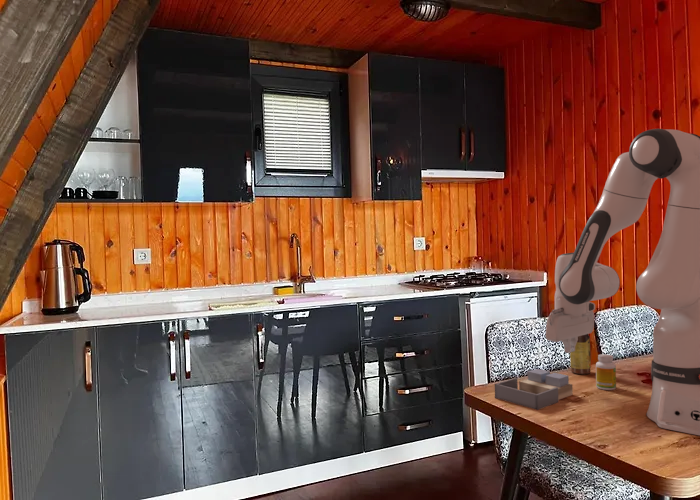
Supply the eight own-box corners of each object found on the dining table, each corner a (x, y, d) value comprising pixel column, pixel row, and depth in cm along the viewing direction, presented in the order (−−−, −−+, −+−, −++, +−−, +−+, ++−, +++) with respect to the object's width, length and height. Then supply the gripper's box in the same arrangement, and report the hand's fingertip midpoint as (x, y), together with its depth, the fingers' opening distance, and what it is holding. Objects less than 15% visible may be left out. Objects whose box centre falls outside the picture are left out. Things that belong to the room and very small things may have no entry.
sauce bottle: (594, 374, 174) (593, 314, 173) (574, 375, 174) (573, 314, 174) (585, 369, 181) (584, 311, 180) (567, 370, 181) (566, 311, 180)
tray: (558, 401, 149) (558, 387, 149) (537, 409, 143) (537, 395, 143) (515, 390, 160) (515, 377, 160) (494, 397, 154) (494, 384, 154)
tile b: (550, 379, 160) (549, 371, 160) (541, 382, 157) (541, 374, 157) (536, 376, 164) (536, 368, 163) (527, 379, 161) (527, 371, 161)
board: (572, 394, 155) (572, 384, 155) (555, 400, 150) (555, 390, 150) (536, 385, 165) (536, 375, 165) (519, 391, 160) (519, 381, 160)
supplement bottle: (617, 391, 157) (616, 358, 157) (597, 389, 159) (596, 357, 158) (614, 385, 162) (614, 353, 162) (595, 384, 164) (594, 353, 163)
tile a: (568, 384, 155) (568, 375, 155) (559, 387, 152) (559, 378, 152) (554, 381, 159) (554, 372, 159) (545, 384, 156) (545, 375, 156)
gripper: (560, 311, 151) (559, 360, 152) (598, 303, 163) (597, 348, 164) (540, 308, 156) (539, 355, 157) (578, 301, 168) (578, 344, 169)
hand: (569, 351), depth 161 cm, fingers closed
